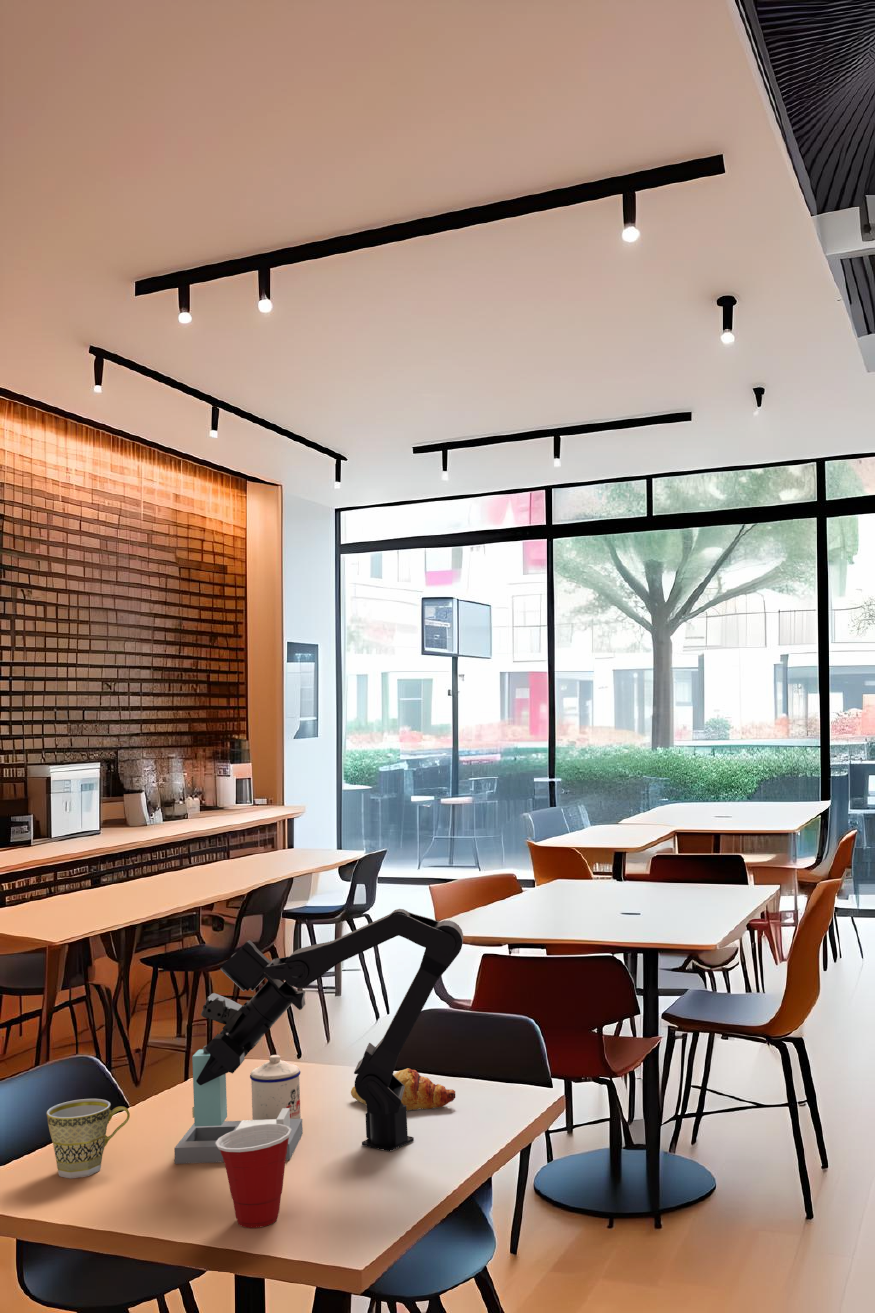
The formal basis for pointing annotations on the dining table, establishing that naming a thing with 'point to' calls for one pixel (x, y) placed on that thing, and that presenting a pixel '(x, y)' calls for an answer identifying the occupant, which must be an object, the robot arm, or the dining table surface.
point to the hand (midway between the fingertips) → (201, 1079)
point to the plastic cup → (255, 1171)
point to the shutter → (269, 1120)
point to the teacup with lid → (275, 1089)
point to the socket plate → (202, 1139)
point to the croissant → (418, 1091)
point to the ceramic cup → (81, 1135)
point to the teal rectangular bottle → (208, 1094)
